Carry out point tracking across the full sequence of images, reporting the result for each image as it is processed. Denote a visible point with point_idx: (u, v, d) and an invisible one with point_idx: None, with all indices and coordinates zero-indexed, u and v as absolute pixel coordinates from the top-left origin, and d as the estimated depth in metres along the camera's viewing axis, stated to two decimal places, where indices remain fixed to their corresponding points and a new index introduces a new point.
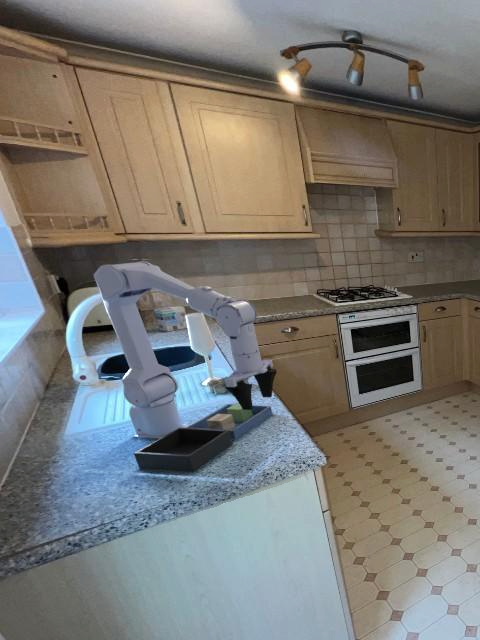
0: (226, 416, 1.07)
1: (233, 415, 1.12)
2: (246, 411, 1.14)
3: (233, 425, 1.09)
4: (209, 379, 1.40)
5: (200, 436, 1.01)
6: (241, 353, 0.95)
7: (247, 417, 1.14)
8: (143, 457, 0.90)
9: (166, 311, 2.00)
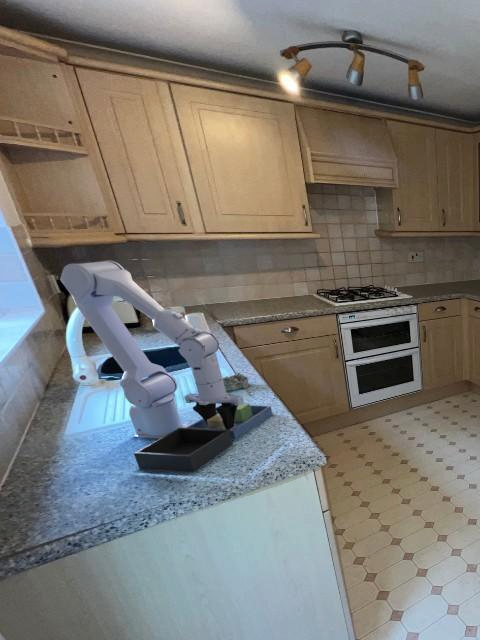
0: None
1: None
2: (246, 411, 1.14)
3: None
4: None
5: (200, 436, 1.01)
6: (205, 382, 1.00)
7: (247, 417, 1.14)
8: (143, 457, 0.90)
9: None
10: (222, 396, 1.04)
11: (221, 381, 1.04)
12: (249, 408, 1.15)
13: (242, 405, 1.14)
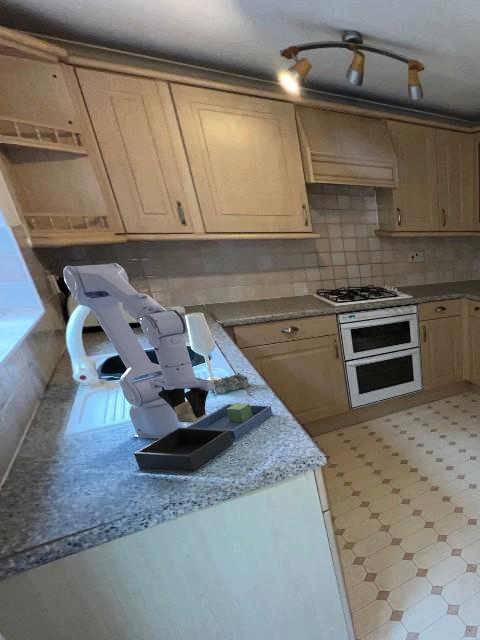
0: None
1: (233, 415, 1.12)
2: (246, 411, 1.14)
3: None
4: (209, 379, 1.40)
5: (200, 436, 1.01)
6: (164, 365, 0.91)
7: (247, 417, 1.14)
8: (143, 457, 0.90)
9: None
10: (190, 380, 0.95)
11: (189, 364, 0.94)
12: (249, 408, 1.15)
13: (242, 405, 1.14)
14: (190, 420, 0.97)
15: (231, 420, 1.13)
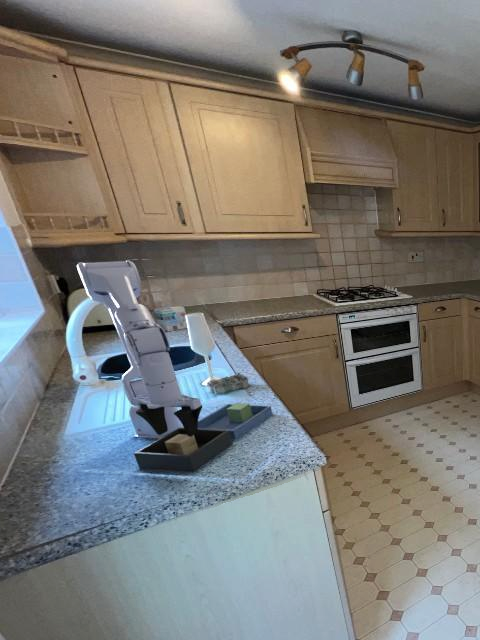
0: (187, 437, 0.97)
1: (233, 415, 1.12)
2: (246, 411, 1.14)
3: (195, 447, 0.99)
4: (209, 379, 1.40)
5: (200, 436, 1.01)
6: (145, 383, 0.88)
7: (247, 417, 1.14)
8: (143, 457, 0.90)
9: (166, 311, 2.00)
10: (176, 398, 0.92)
11: (174, 381, 0.91)
12: (249, 408, 1.15)
13: (242, 405, 1.14)
14: None
15: (231, 420, 1.13)
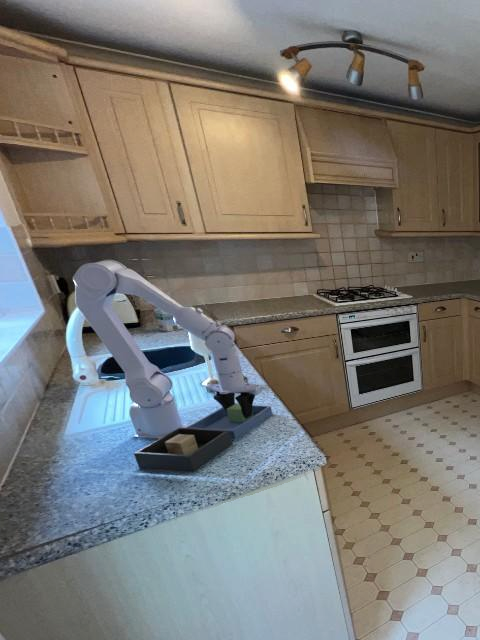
0: (187, 437, 0.97)
1: (233, 415, 1.12)
2: None
3: (195, 447, 0.99)
4: (209, 379, 1.40)
5: (200, 436, 1.01)
6: (231, 372, 1.07)
7: None
8: (143, 457, 0.90)
9: None
10: (241, 386, 1.10)
11: (240, 372, 1.10)
12: None
13: None
14: None
15: (231, 420, 1.13)
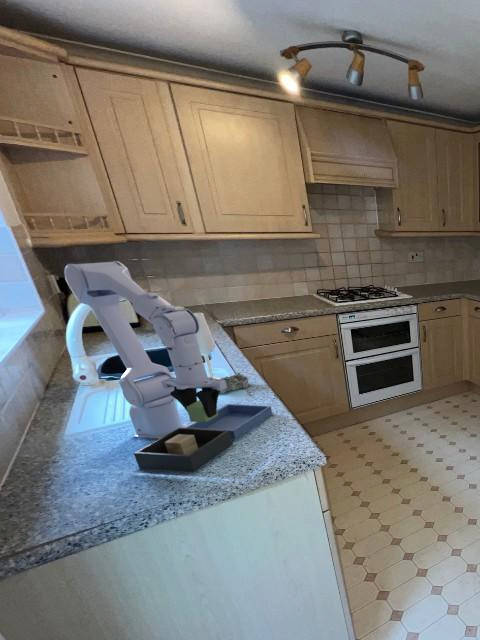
0: (187, 437, 0.97)
1: (194, 414, 0.97)
2: None
3: (195, 447, 0.99)
4: None
5: (200, 436, 1.01)
6: (177, 365, 0.91)
7: None
8: (143, 457, 0.90)
9: None
10: (202, 380, 0.95)
11: (201, 364, 0.95)
12: None
13: None
14: None
15: (192, 420, 0.98)
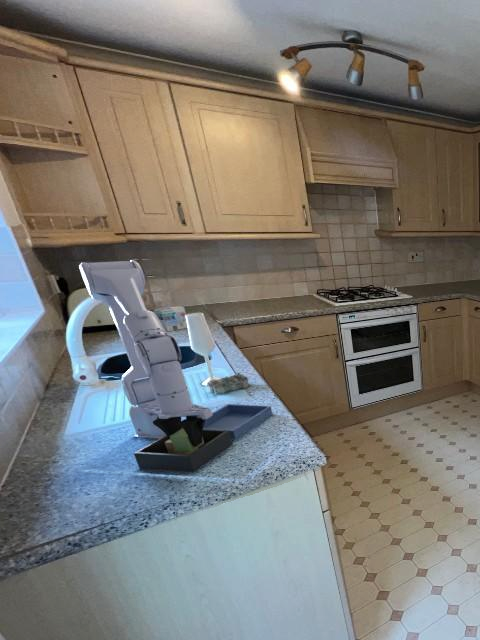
0: None
1: (178, 443, 0.92)
2: None
3: None
4: (209, 379, 1.40)
5: None
6: (156, 393, 0.86)
7: None
8: (143, 457, 0.90)
9: (166, 311, 2.00)
10: (187, 408, 0.90)
11: (185, 391, 0.90)
12: None
13: None
14: None
15: (176, 449, 0.93)
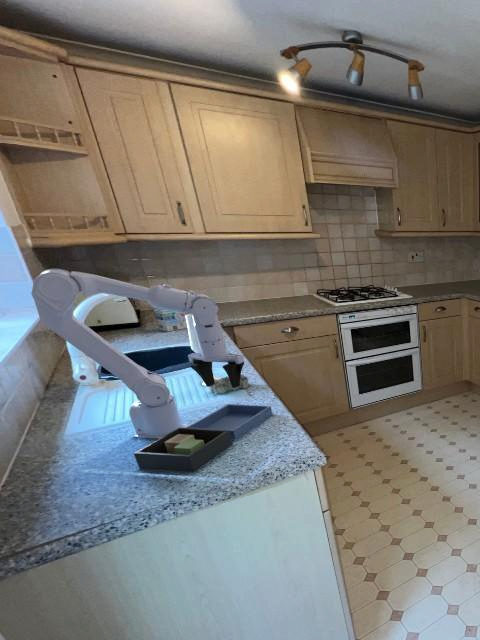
0: (187, 437, 0.97)
1: None
2: None
3: None
4: None
5: (200, 436, 1.01)
6: (216, 339, 1.08)
7: None
8: (143, 457, 0.90)
9: (166, 311, 2.00)
10: None
11: None
12: None
13: (194, 442, 0.95)
14: None
15: None
